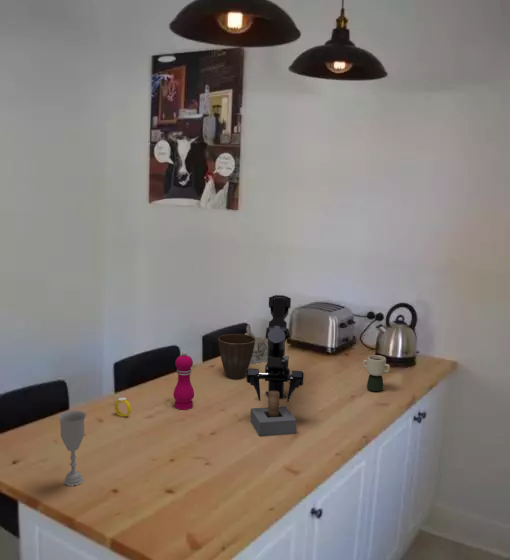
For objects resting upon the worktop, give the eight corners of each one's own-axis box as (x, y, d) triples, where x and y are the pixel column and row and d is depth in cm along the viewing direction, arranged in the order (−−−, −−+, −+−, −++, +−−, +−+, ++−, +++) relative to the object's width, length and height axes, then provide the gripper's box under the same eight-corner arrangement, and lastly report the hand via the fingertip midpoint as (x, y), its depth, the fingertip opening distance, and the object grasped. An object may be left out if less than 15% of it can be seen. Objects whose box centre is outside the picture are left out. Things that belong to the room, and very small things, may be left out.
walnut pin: (269, 422, 199) (270, 390, 198) (279, 423, 198) (280, 391, 197) (266, 426, 196) (267, 393, 194) (276, 427, 195) (277, 395, 193)
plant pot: (261, 375, 249) (262, 337, 247) (240, 385, 237) (242, 345, 234) (231, 368, 257) (232, 332, 254) (210, 377, 245) (210, 339, 242)
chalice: (63, 475, 162) (61, 410, 159) (89, 474, 163) (88, 410, 160) (56, 488, 155) (55, 421, 152) (84, 488, 155) (83, 421, 152)
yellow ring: (132, 416, 203) (132, 399, 202) (127, 419, 201) (127, 401, 200) (118, 412, 206) (118, 395, 205) (113, 415, 203) (112, 398, 202)
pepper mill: (190, 411, 209) (191, 355, 206) (170, 409, 210) (170, 353, 207) (196, 403, 216) (197, 349, 213) (177, 401, 217) (177, 347, 214)
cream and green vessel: (391, 390, 236) (393, 358, 234) (384, 395, 230) (386, 362, 228) (365, 384, 242) (367, 353, 240) (358, 389, 236) (359, 357, 234)
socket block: (250, 421, 202) (250, 408, 201) (285, 418, 205) (285, 406, 204) (259, 436, 190) (259, 422, 190) (296, 433, 193) (296, 419, 192)
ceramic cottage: (236, 362, 265) (239, 329, 263) (242, 353, 281) (245, 322, 279) (271, 367, 263) (275, 333, 261) (275, 358, 279) (278, 326, 277)
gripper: (247, 344, 199) (243, 388, 190) (304, 347, 198) (303, 391, 189) (248, 360, 208) (245, 403, 199) (303, 363, 207) (302, 406, 198)
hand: (273, 400), depth 196 cm, fingers open, 9 cm apart
